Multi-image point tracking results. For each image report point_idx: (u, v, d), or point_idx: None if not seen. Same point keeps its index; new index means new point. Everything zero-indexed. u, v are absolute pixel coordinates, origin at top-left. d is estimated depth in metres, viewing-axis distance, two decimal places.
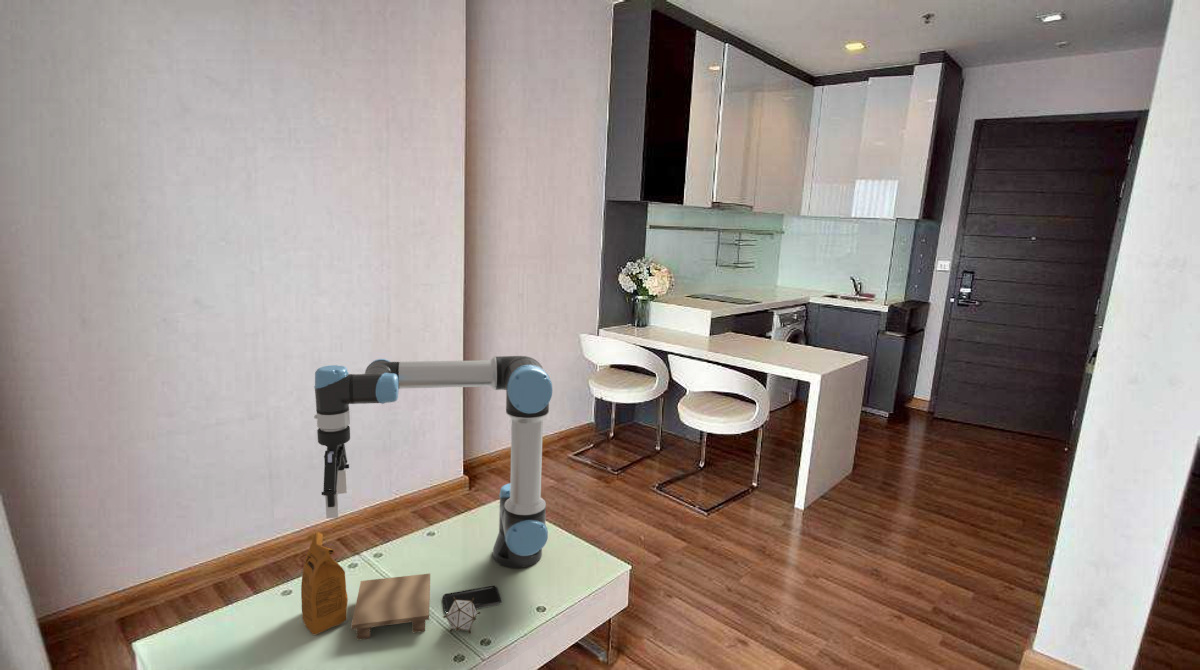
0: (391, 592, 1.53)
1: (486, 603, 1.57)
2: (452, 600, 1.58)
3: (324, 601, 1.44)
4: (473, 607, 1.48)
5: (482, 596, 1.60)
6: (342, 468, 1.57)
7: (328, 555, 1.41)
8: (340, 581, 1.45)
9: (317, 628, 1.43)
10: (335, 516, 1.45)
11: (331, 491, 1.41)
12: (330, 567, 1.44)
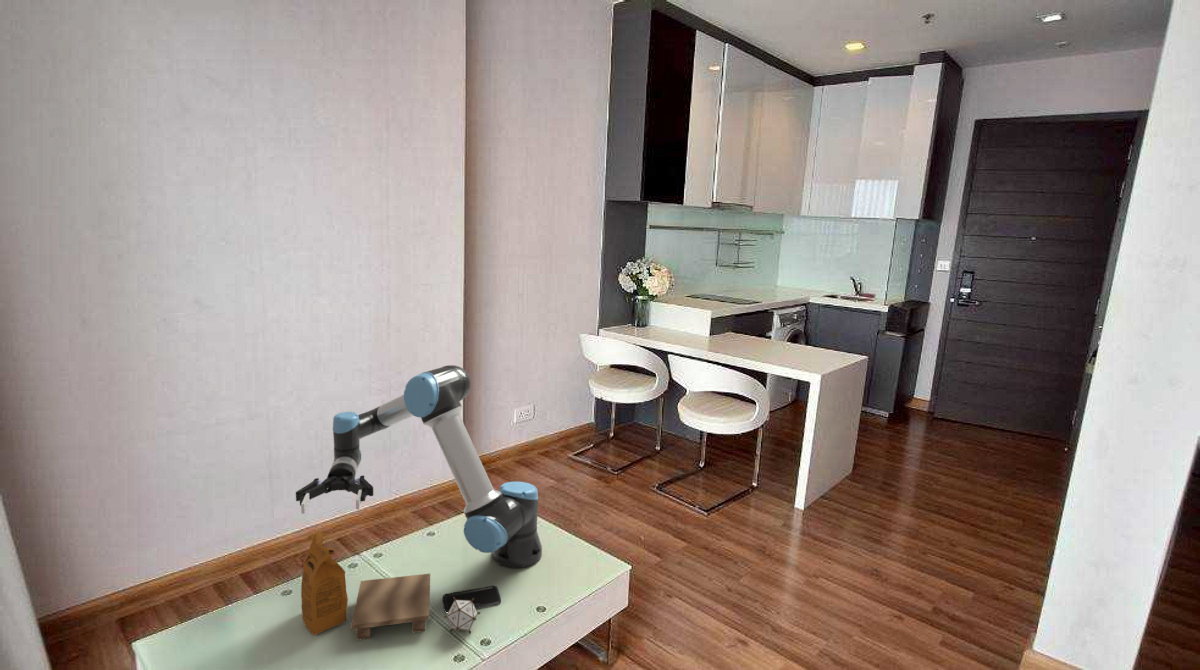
0: (391, 592, 1.53)
1: (486, 603, 1.57)
2: (452, 600, 1.58)
3: (324, 601, 1.44)
4: (473, 607, 1.48)
5: (482, 596, 1.60)
6: None
7: (328, 555, 1.41)
8: (340, 581, 1.45)
9: (317, 628, 1.43)
10: None
11: None
12: (330, 567, 1.44)
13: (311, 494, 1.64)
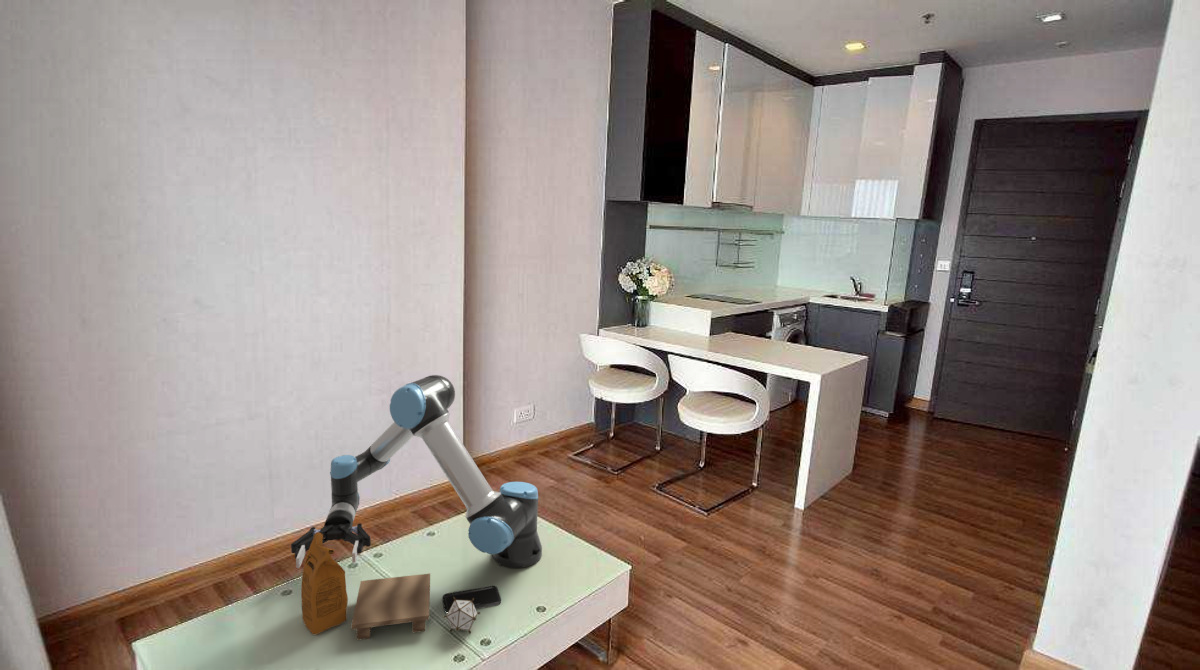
0: (391, 592, 1.53)
1: (486, 603, 1.57)
2: (452, 600, 1.58)
3: (324, 601, 1.44)
4: (473, 607, 1.48)
5: (481, 596, 1.60)
6: None
7: (328, 555, 1.41)
8: (340, 581, 1.45)
9: (317, 628, 1.43)
10: None
11: None
12: (330, 567, 1.45)
13: (307, 545, 1.60)
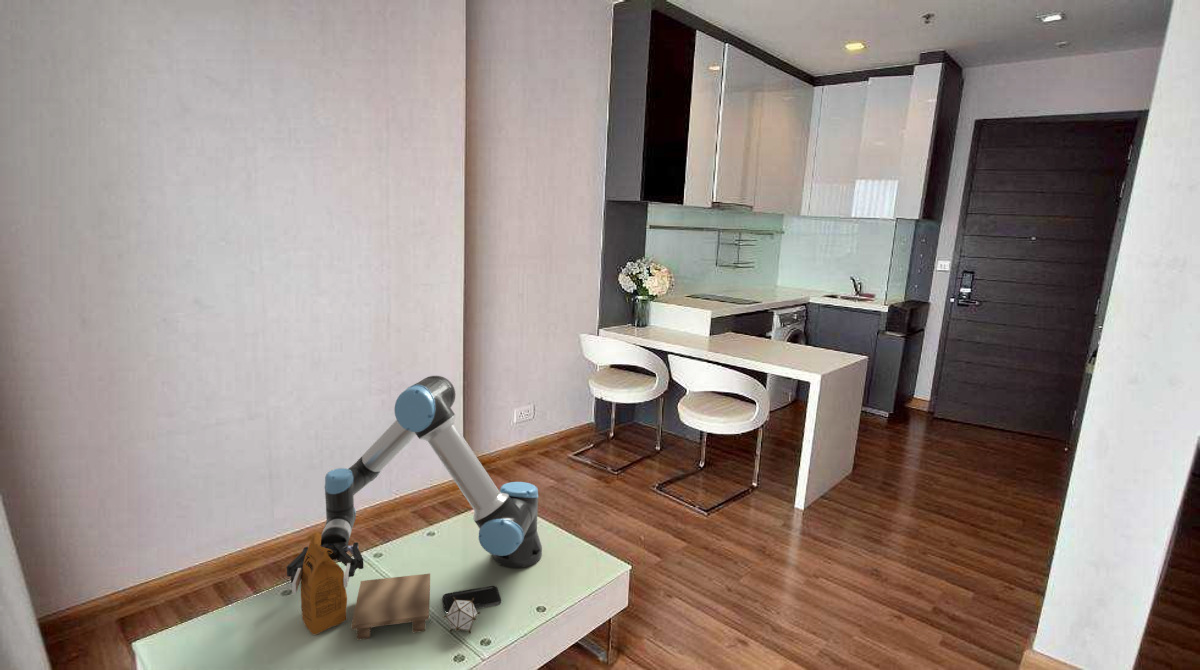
0: (391, 592, 1.53)
1: (486, 603, 1.57)
2: (452, 600, 1.58)
3: (323, 601, 1.43)
4: (473, 607, 1.48)
5: (482, 596, 1.60)
6: None
7: (326, 555, 1.41)
8: (339, 581, 1.45)
9: (317, 628, 1.43)
10: None
11: None
12: (328, 567, 1.44)
13: None
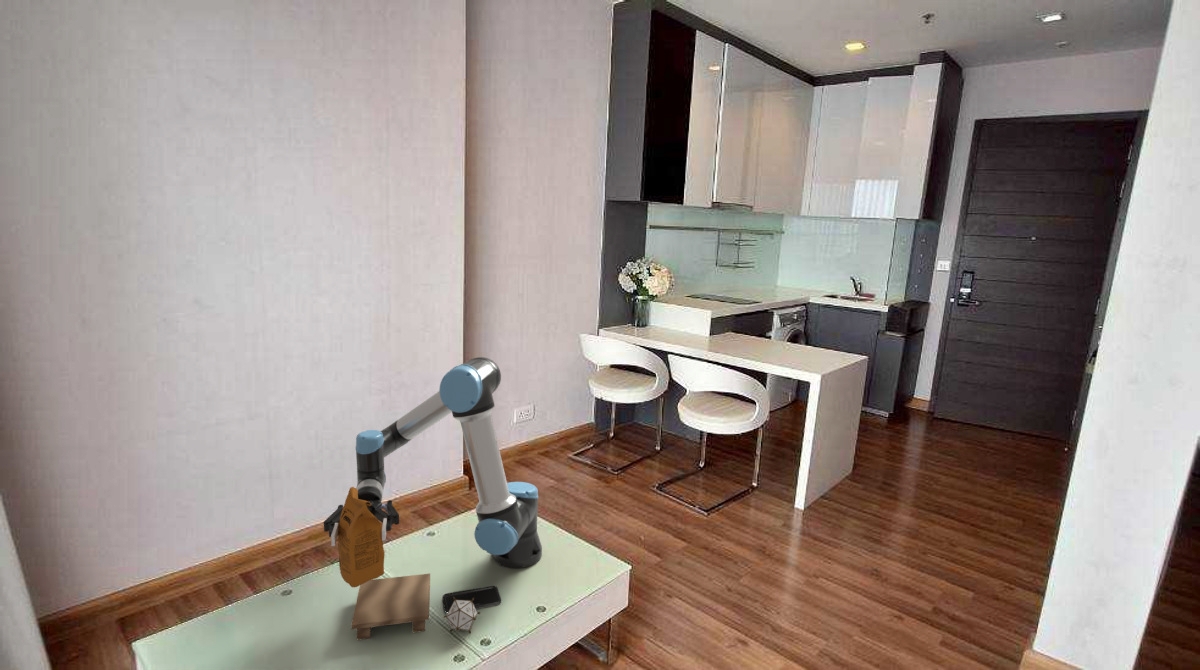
0: (391, 592, 1.53)
1: (486, 603, 1.57)
2: (452, 600, 1.58)
3: (362, 554, 1.43)
4: (473, 607, 1.48)
5: (482, 596, 1.60)
6: None
7: (365, 507, 1.41)
8: (377, 534, 1.45)
9: (356, 581, 1.43)
10: (331, 537, 1.42)
11: None
12: (367, 520, 1.44)
13: None
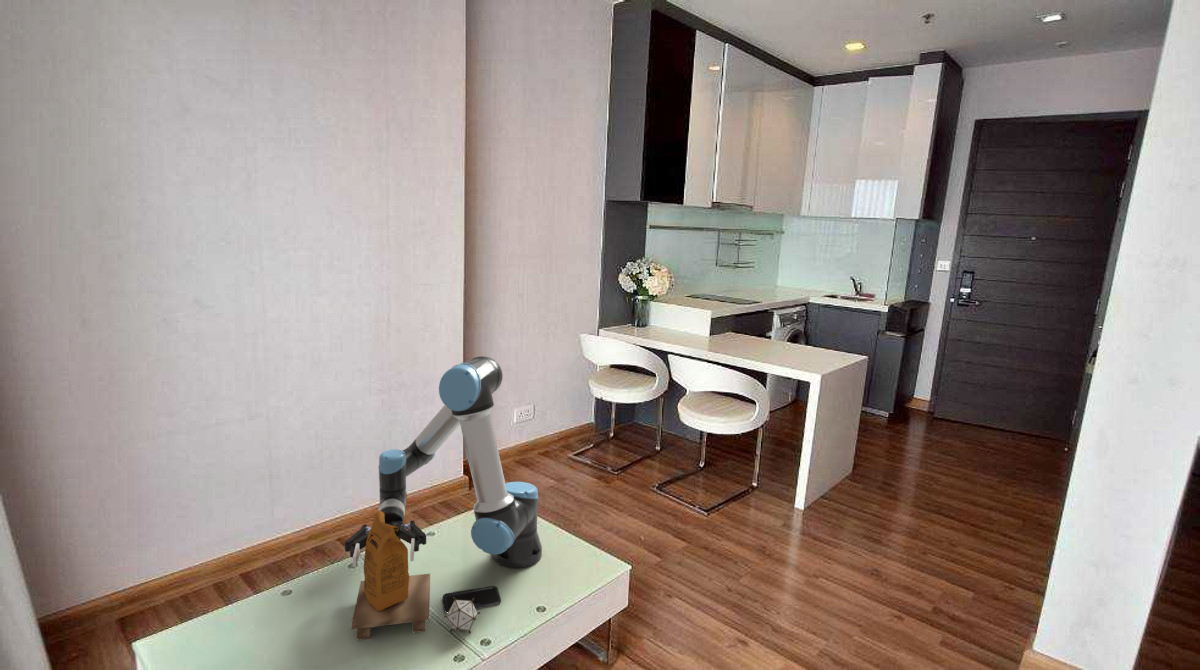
0: None
1: (486, 603, 1.57)
2: (452, 600, 1.58)
3: (388, 578, 1.46)
4: (473, 607, 1.48)
5: (482, 596, 1.60)
6: None
7: (393, 532, 1.44)
8: (403, 558, 1.47)
9: (382, 604, 1.45)
10: None
11: None
12: (393, 544, 1.47)
13: (361, 544, 1.52)
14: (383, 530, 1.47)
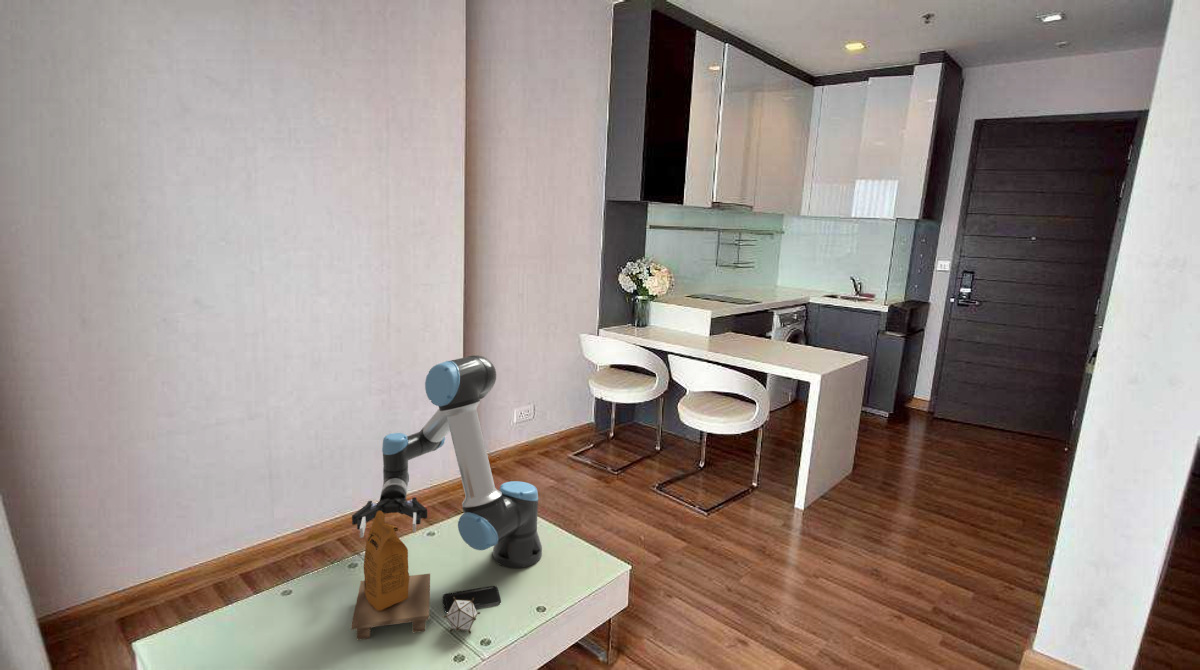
0: None
1: (485, 603, 1.57)
2: (452, 600, 1.58)
3: (388, 578, 1.46)
4: (473, 607, 1.48)
5: (481, 596, 1.60)
6: (416, 514, 1.67)
7: (393, 532, 1.44)
8: (403, 558, 1.47)
9: (382, 604, 1.45)
10: None
11: None
12: (393, 544, 1.47)
13: (367, 517, 1.65)
14: (383, 530, 1.47)
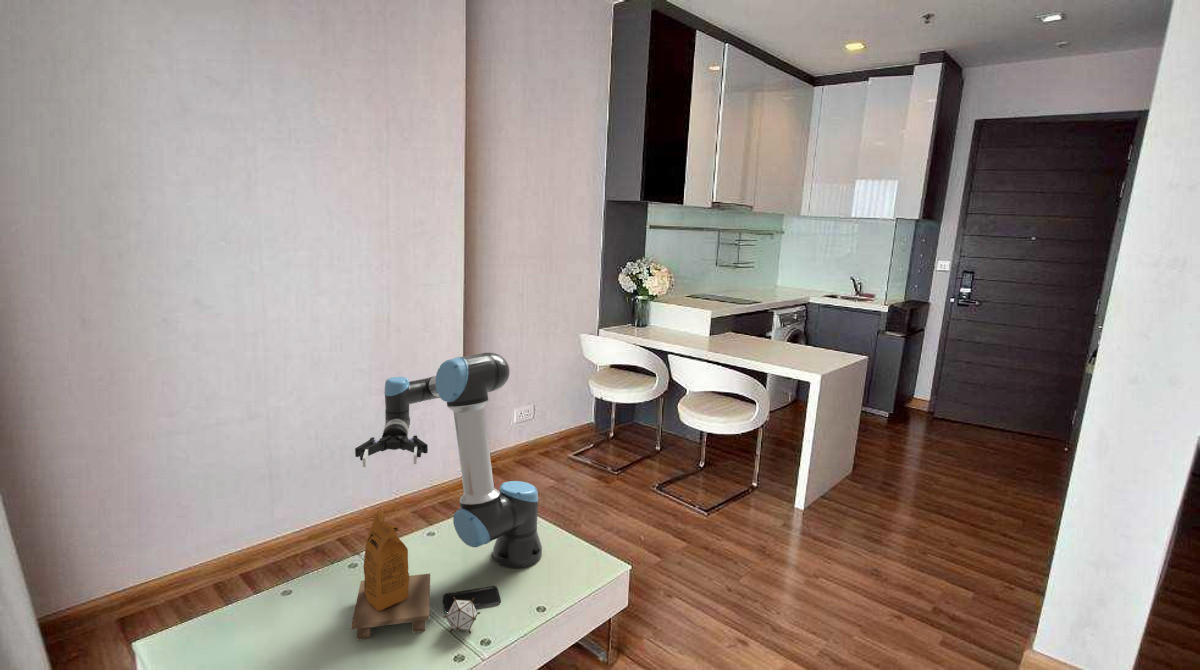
0: None
1: (485, 603, 1.57)
2: (452, 600, 1.58)
3: (388, 578, 1.46)
4: (473, 607, 1.48)
5: (482, 596, 1.60)
6: (417, 449, 1.73)
7: (393, 532, 1.44)
8: (403, 558, 1.47)
9: (382, 604, 1.45)
10: (362, 459, 1.63)
11: None
12: (393, 544, 1.47)
13: (369, 451, 1.71)
14: (383, 530, 1.47)
